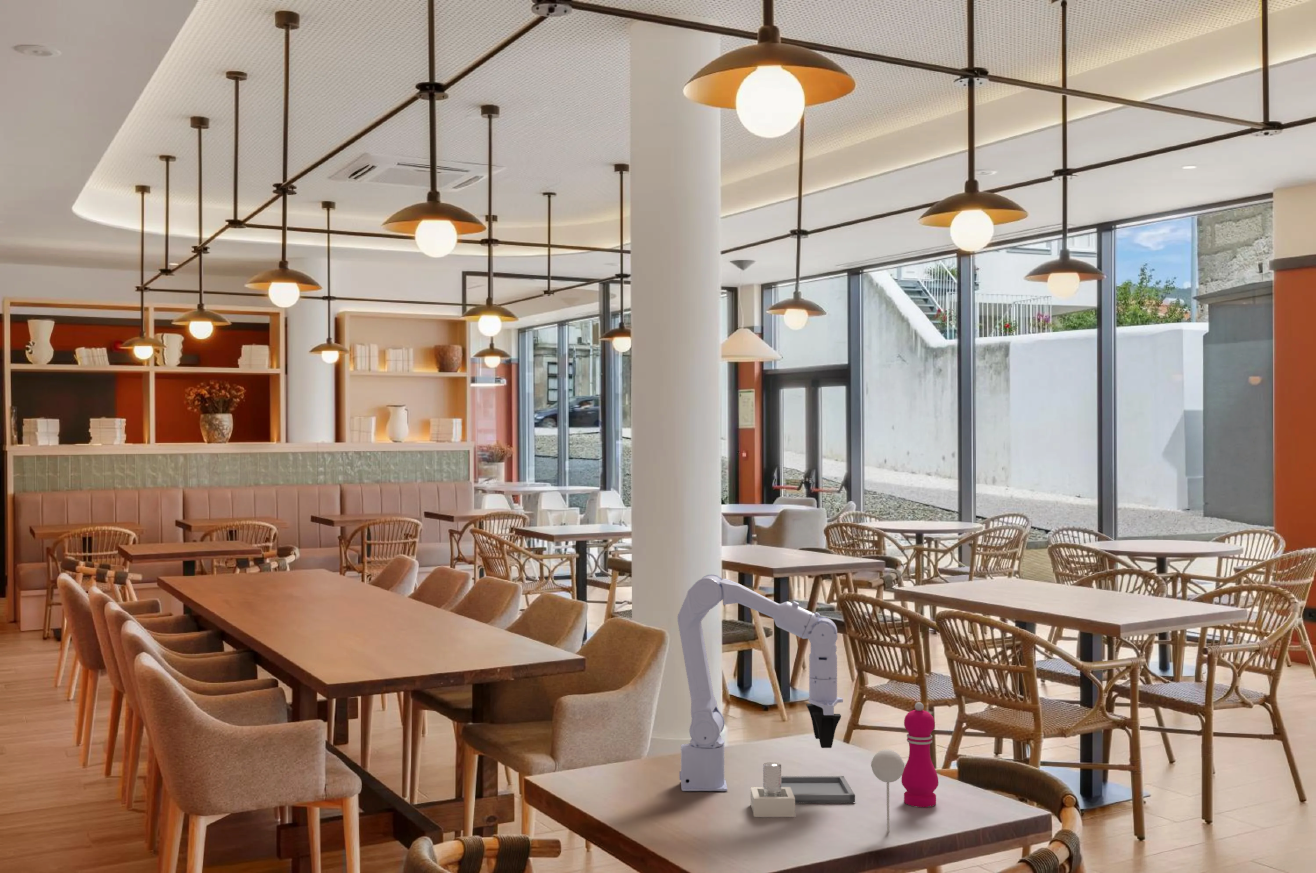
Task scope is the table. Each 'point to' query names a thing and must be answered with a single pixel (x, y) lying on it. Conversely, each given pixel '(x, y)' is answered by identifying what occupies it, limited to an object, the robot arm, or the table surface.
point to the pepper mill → (919, 759)
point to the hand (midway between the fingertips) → (823, 743)
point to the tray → (819, 789)
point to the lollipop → (887, 770)
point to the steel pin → (771, 779)
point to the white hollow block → (772, 803)
